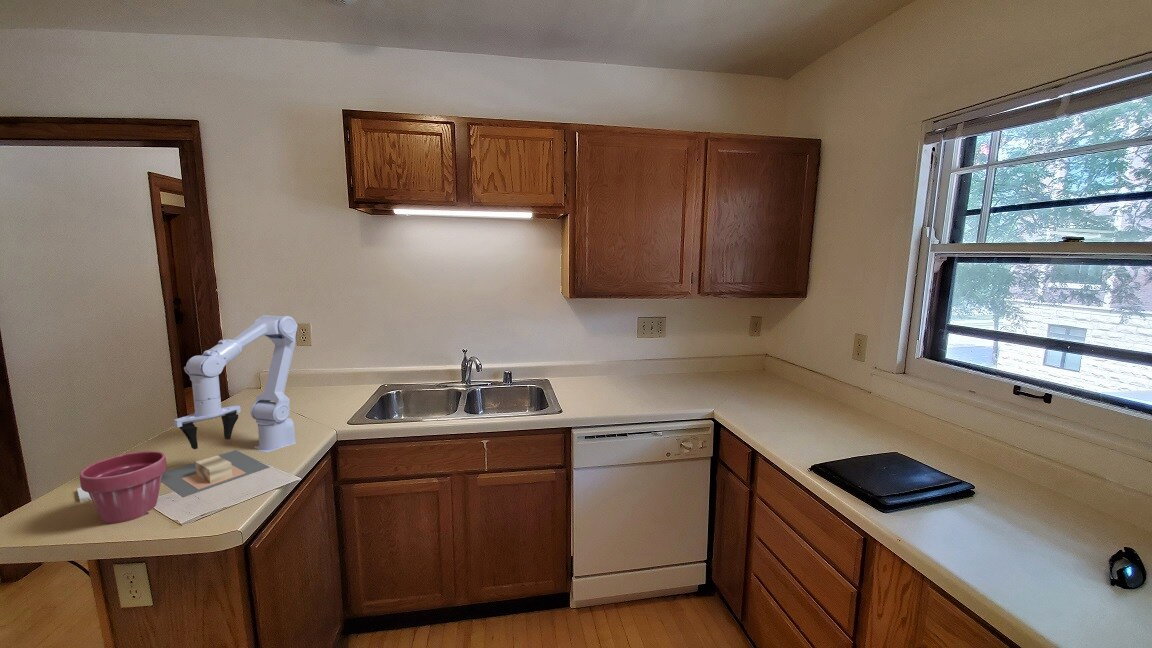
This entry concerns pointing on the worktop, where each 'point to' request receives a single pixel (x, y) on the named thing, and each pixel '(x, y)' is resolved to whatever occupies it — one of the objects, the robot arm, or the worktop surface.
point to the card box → (213, 469)
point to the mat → (189, 483)
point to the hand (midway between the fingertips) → (211, 443)
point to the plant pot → (124, 484)
